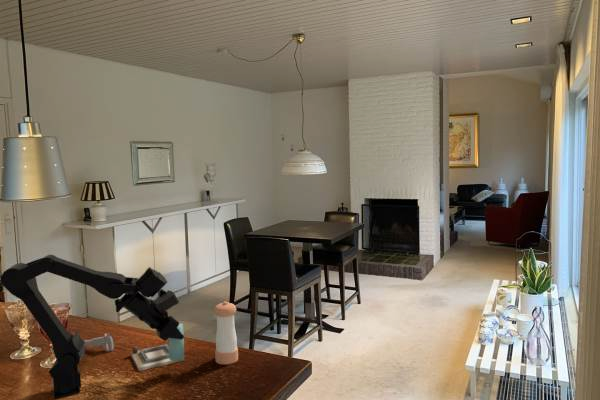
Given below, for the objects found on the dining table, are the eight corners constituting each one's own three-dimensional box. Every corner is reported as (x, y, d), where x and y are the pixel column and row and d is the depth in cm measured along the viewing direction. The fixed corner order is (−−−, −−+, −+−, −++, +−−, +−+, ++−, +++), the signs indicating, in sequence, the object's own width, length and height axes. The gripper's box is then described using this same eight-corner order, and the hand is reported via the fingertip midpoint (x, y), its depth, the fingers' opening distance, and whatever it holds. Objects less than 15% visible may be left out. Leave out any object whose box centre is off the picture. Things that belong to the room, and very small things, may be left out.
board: (138, 371, 143) (138, 361, 142) (130, 355, 154) (130, 346, 154) (184, 360, 150) (183, 351, 149) (173, 345, 161) (172, 337, 161)
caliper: (114, 350, 158) (113, 333, 157) (112, 352, 157) (111, 334, 156) (60, 346, 162) (59, 329, 161) (58, 348, 161) (57, 330, 160)
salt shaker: (222, 366, 145) (220, 307, 143) (211, 358, 151) (209, 301, 149) (242, 359, 150) (241, 301, 148) (230, 352, 155) (229, 296, 153)
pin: (171, 361, 139) (170, 329, 138) (167, 356, 143) (166, 324, 141) (186, 358, 141) (184, 326, 140) (181, 353, 145) (180, 321, 144)
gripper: (170, 292, 129) (209, 322, 136) (151, 277, 145) (187, 305, 152) (142, 326, 126) (184, 355, 133) (126, 306, 141) (164, 333, 149)
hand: (180, 335), depth 142 cm, fingers closed on pin, 4 cm apart
